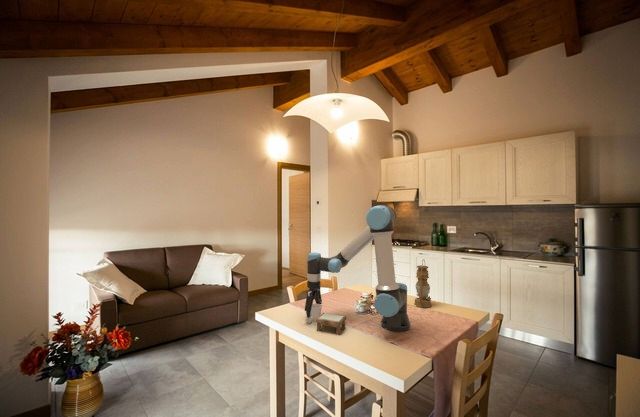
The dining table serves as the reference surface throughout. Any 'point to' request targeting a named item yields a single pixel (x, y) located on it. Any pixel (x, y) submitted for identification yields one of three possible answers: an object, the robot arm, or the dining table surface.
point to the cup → (315, 311)
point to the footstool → (331, 324)
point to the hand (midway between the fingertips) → (313, 319)
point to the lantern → (422, 287)
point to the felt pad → (331, 317)
